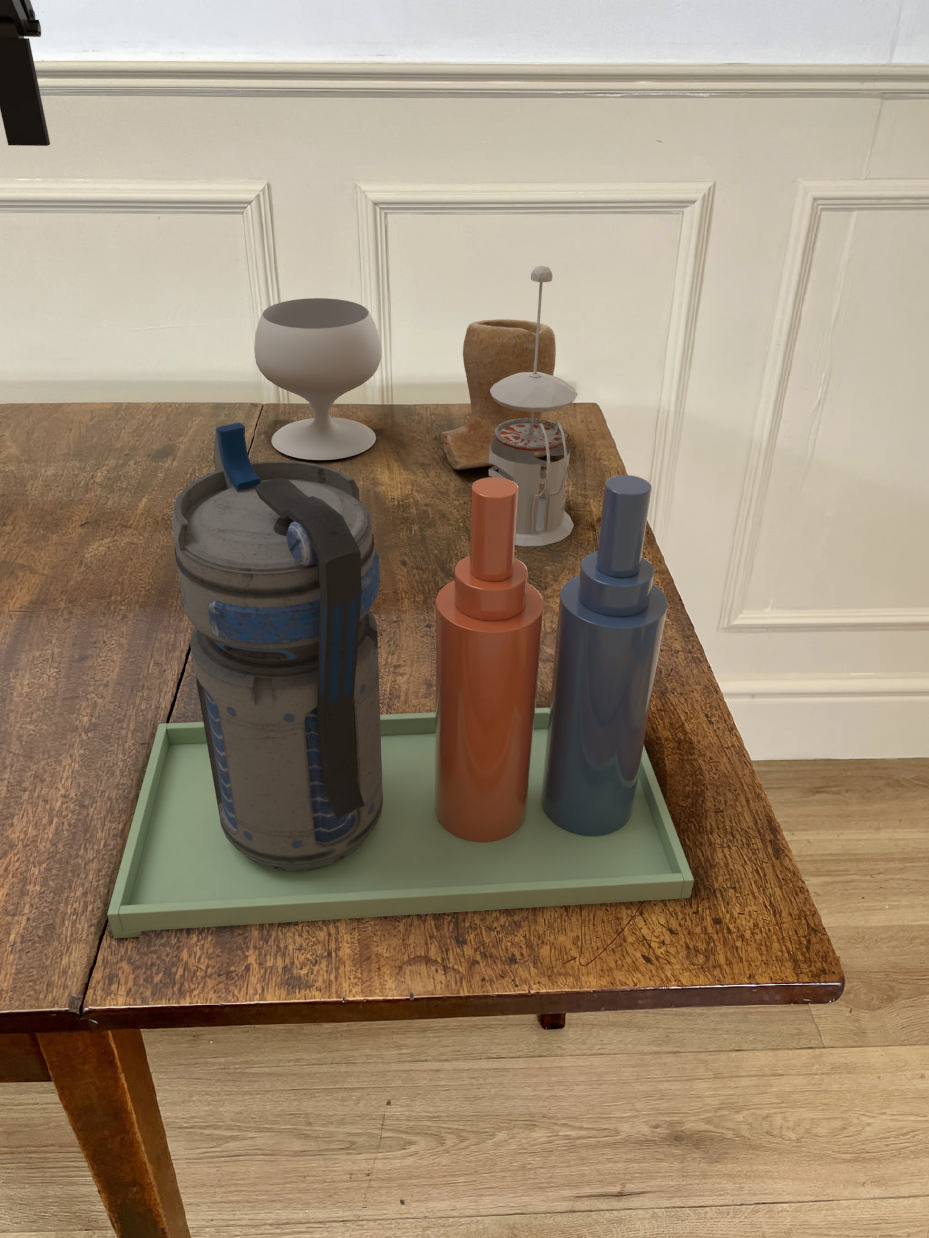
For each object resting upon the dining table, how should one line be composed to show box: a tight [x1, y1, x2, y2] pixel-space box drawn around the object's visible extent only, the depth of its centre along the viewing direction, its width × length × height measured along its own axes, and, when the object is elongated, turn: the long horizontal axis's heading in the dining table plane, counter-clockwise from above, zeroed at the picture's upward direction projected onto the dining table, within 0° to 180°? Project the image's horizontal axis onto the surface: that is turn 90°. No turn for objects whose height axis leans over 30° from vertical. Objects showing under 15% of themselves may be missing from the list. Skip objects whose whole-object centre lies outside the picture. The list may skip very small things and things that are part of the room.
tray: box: [106, 707, 695, 939], centre depth 60 cm, size 33×16×2 cm, turn 95°
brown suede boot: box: [439, 318, 568, 471], centre depth 105 cm, size 15×12×15 cm
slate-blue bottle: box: [541, 474, 668, 836], centre depth 55 cm, size 6×6×23 cm
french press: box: [488, 265, 579, 547], centre depth 87 cm, size 10×12×25 cm
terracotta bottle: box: [434, 476, 545, 842], centre depth 55 cm, size 6×6×23 cm
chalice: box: [253, 297, 382, 461], centre depth 107 cm, size 14×14×15 cm
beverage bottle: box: [170, 422, 383, 871], centre depth 52 cm, size 10×13×25 cm
